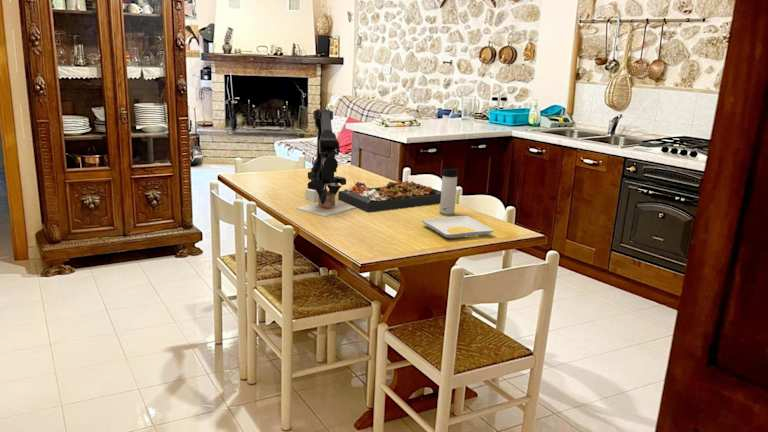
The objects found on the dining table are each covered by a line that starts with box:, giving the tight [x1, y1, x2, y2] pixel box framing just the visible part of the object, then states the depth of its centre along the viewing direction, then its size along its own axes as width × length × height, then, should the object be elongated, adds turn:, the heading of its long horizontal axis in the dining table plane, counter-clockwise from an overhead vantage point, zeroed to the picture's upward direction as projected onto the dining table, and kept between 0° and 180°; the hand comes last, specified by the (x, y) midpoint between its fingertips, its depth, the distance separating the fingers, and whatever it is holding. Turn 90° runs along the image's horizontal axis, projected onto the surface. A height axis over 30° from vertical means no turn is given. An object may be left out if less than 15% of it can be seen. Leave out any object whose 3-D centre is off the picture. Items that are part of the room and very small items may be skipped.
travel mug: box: [439, 168, 459, 216], centre depth 264 cm, size 6×7×20 cm
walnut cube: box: [317, 192, 336, 208], centre depth 264 cm, size 5×5×5 cm
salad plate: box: [421, 215, 494, 239], centre depth 241 cm, size 21×21×3 cm
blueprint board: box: [296, 201, 357, 218], centre depth 265 cm, size 20×16×1 cm
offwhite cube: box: [305, 188, 319, 203], centre depth 278 cm, size 5×5×5 cm
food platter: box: [337, 178, 441, 213], centre depth 284 cm, size 45×25×10 cm, turn 124°
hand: (326, 203), depth 264 cm, fingers closed on walnut cube, 5 cm apart
